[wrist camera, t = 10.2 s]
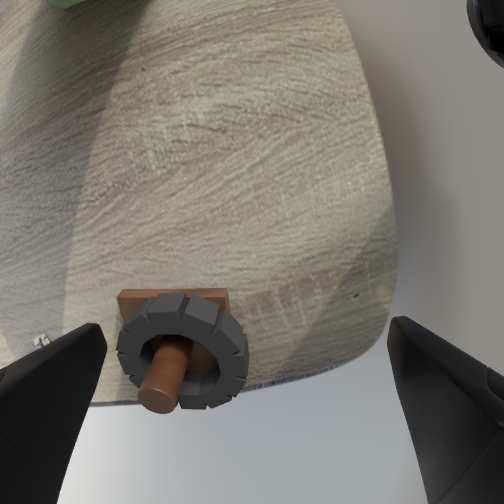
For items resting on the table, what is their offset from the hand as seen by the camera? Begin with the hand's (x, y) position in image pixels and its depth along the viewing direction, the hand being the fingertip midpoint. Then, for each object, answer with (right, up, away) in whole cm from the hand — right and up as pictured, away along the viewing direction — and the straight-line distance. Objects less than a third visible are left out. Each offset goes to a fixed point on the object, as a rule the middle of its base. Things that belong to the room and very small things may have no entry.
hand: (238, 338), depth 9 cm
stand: (-5, -4, +15) cm, 16 cm away
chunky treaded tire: (-5, -4, +14) cm, 15 cm away
